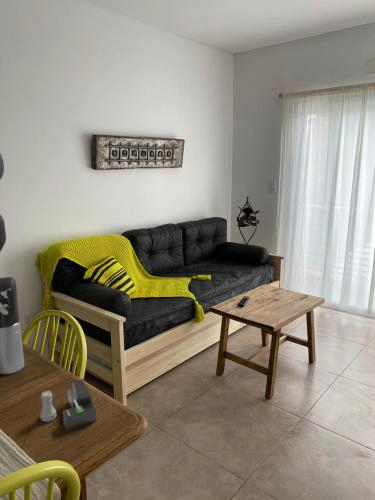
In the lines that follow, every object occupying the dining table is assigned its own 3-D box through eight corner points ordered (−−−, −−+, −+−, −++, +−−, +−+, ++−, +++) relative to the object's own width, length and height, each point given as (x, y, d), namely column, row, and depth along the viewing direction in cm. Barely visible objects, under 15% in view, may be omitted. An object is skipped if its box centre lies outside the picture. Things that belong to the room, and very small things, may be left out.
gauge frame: (56, 404, 118) (54, 386, 117) (83, 396, 122) (81, 379, 121) (66, 430, 107) (64, 411, 105) (96, 420, 111) (94, 402, 109)
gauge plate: (68, 399, 118) (67, 388, 117) (71, 398, 119) (70, 387, 118) (77, 420, 109) (76, 408, 108) (81, 419, 109) (80, 407, 108)
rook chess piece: (60, 415, 113) (57, 391, 111) (48, 424, 109) (45, 399, 107) (49, 410, 115) (46, 386, 113) (37, 419, 111) (34, 394, 109)
